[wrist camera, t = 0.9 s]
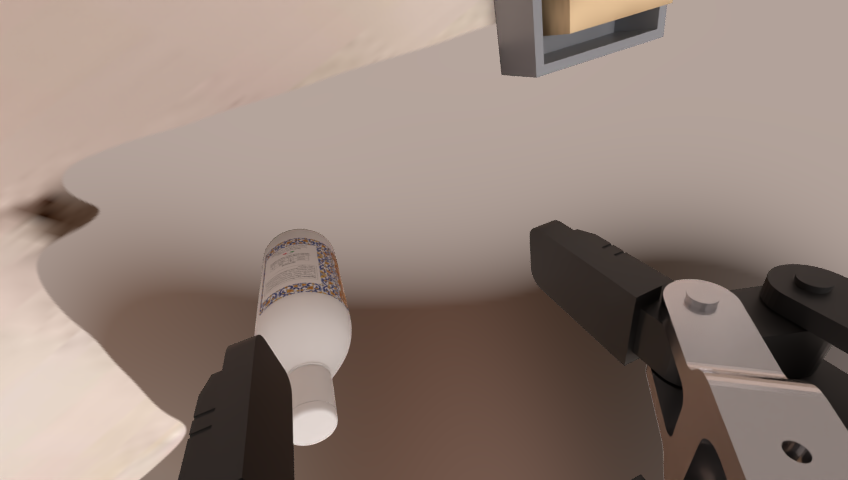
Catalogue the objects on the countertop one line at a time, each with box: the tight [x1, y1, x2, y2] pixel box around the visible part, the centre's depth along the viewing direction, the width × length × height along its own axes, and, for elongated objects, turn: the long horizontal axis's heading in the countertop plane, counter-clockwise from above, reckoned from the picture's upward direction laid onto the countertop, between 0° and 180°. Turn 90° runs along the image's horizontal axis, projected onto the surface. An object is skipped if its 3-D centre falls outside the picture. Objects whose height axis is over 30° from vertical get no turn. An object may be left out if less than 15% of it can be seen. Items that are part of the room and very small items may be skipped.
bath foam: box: [255, 229, 351, 446], centre depth 28 cm, size 7×7×20 cm
